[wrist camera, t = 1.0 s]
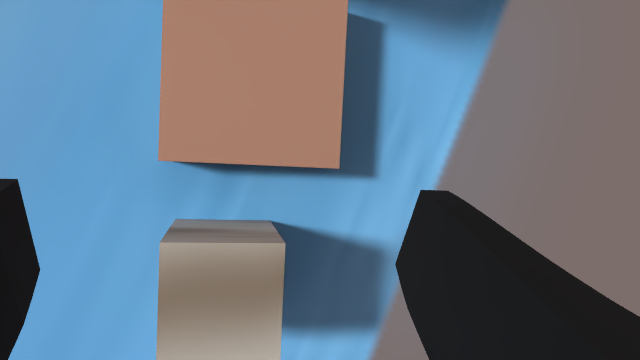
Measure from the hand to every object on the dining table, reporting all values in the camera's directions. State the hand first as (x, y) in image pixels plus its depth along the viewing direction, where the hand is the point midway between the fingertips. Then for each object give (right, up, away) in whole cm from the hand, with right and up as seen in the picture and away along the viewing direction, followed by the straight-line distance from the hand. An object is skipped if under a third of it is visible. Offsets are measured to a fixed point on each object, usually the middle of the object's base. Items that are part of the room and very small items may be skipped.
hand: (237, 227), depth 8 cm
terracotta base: (-1, +5, +11) cm, 12 cm away
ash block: (-3, -3, +11) cm, 12 cm away
